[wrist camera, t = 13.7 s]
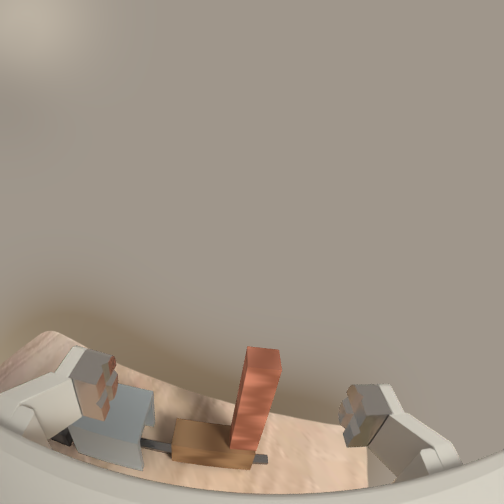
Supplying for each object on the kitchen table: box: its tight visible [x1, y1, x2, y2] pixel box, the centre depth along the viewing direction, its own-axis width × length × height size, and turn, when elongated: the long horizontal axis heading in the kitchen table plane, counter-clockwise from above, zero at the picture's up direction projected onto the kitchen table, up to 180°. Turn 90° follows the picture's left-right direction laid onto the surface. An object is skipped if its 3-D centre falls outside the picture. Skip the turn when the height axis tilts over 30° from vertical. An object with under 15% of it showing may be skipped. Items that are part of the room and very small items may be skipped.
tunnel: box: [68, 383, 155, 471], centre depth 33 cm, size 9×9×7 cm
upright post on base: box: [171, 346, 282, 470], centre depth 32 cm, size 10×4×18 cm, turn 91°
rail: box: [140, 438, 268, 464], centre depth 34 cm, size 26×1×1 cm, turn 91°
